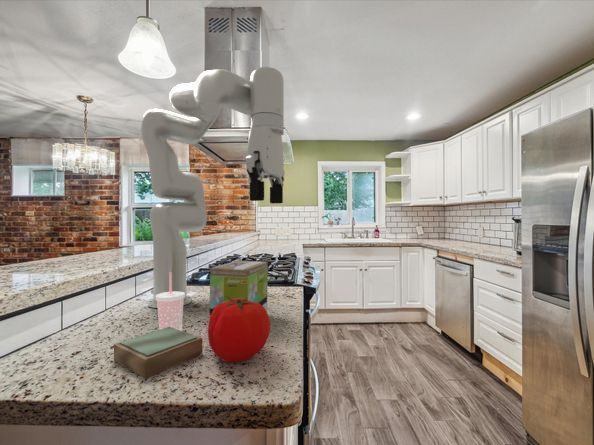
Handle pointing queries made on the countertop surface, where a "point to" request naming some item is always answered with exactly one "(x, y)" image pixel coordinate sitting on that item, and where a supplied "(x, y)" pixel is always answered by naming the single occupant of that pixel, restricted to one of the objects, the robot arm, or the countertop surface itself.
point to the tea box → (239, 282)
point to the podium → (157, 351)
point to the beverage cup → (170, 308)
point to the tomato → (238, 329)
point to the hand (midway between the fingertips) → (267, 202)
